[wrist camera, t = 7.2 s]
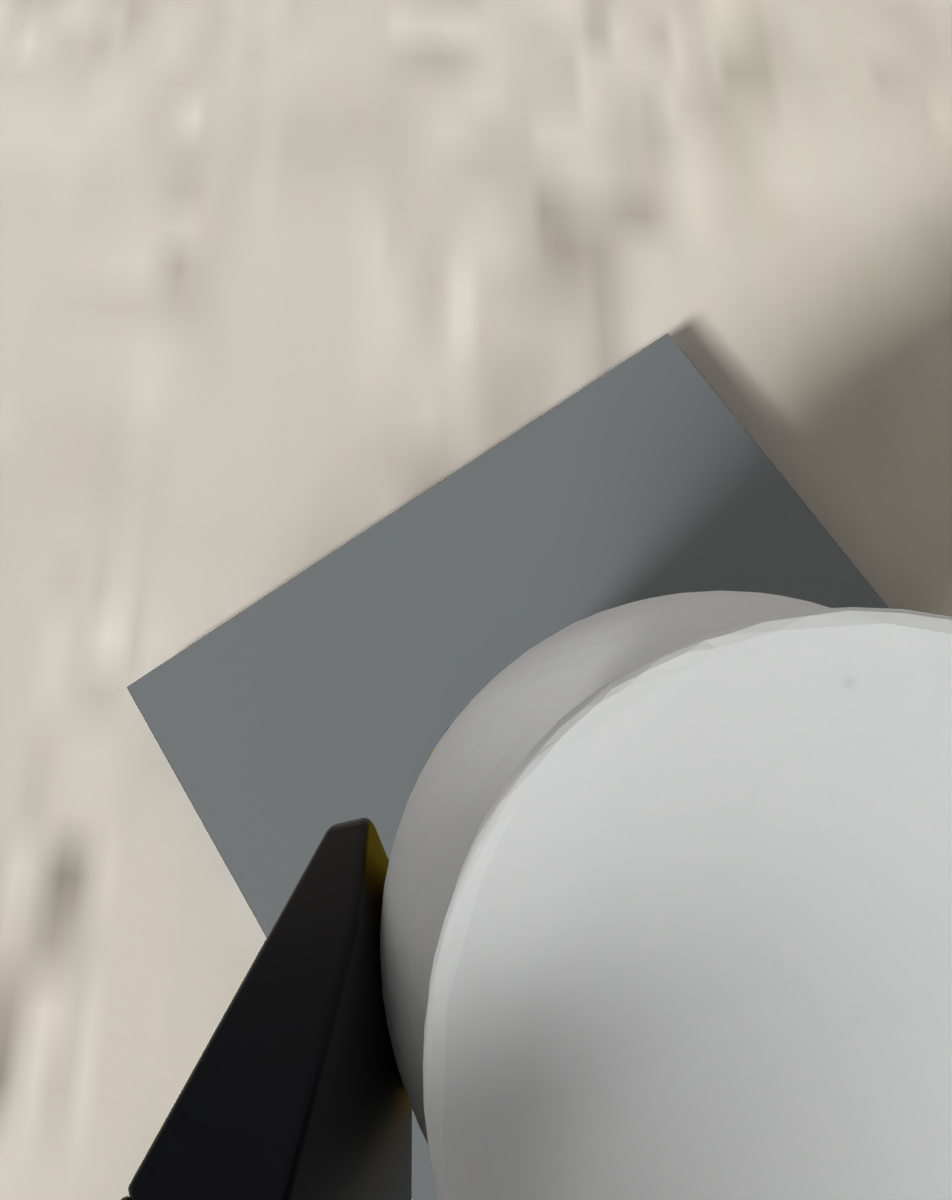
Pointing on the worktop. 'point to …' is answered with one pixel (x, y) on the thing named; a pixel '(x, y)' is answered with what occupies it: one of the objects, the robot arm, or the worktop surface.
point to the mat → (470, 614)
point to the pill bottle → (686, 911)
